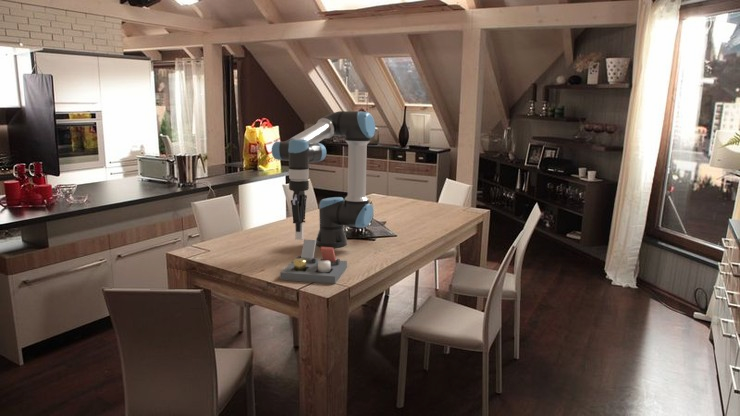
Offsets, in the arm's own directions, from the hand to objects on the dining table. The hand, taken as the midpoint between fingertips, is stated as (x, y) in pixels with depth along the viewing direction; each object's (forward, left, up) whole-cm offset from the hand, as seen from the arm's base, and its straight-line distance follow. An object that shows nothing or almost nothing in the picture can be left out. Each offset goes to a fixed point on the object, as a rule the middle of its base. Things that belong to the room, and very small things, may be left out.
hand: (299, 239), depth 198 cm
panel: (-4, +5, -15) cm, 17 cm away
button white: (0, +10, -12) cm, 16 cm away
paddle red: (-9, +10, -11) cm, 18 cm away
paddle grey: (-9, 0, -11) cm, 15 cm away
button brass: (0, 0, -12) cm, 12 cm away
